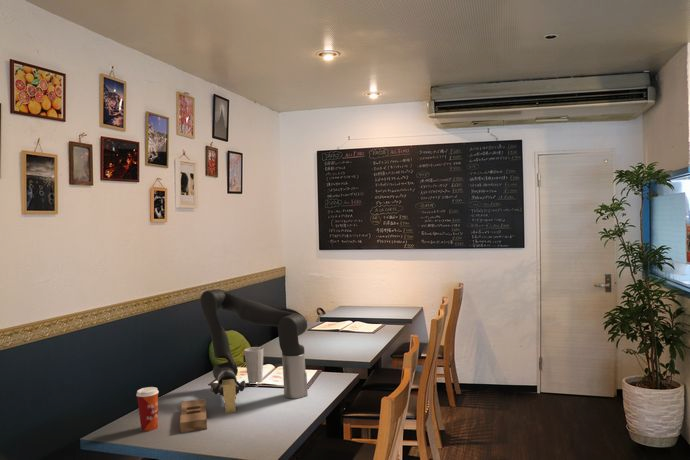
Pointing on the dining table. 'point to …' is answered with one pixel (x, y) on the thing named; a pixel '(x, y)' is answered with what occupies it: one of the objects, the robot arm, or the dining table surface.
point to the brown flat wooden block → (193, 415)
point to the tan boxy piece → (229, 395)
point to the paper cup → (148, 408)
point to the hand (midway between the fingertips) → (229, 392)
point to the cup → (254, 364)
